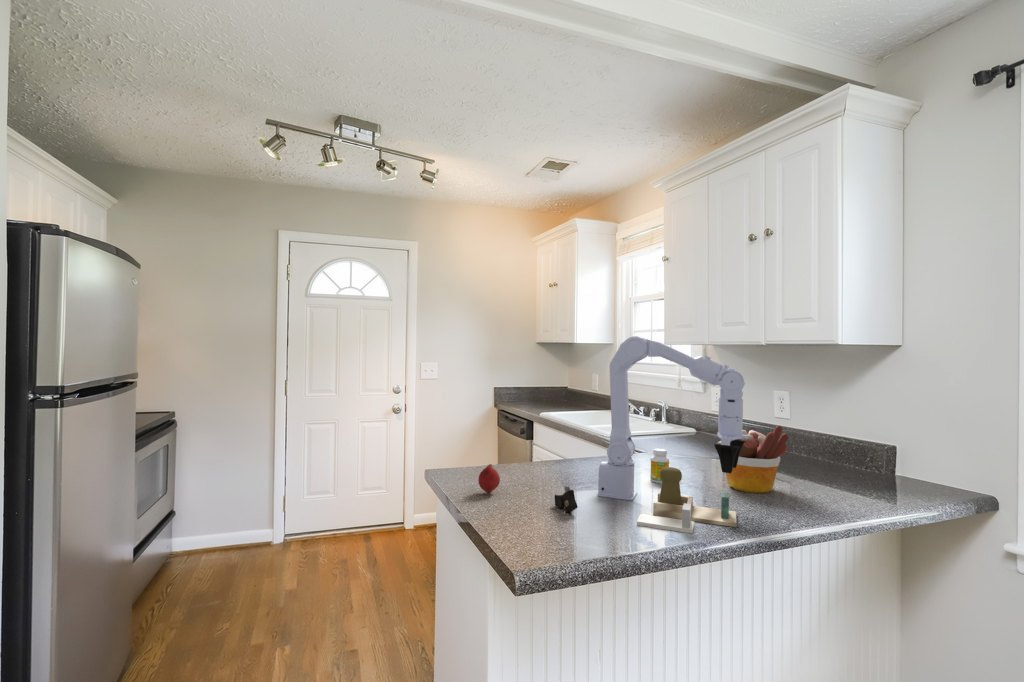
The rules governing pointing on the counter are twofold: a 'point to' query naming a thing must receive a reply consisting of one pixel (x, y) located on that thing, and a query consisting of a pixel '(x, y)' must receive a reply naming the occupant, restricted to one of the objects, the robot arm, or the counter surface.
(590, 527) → the counter surface
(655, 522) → the cream base with post
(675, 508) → the cream slotted holder
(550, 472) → the counter surface
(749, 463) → the bucket of meat
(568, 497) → the black angular piece
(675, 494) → the cork
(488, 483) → the onion
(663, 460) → the supplement bottle
